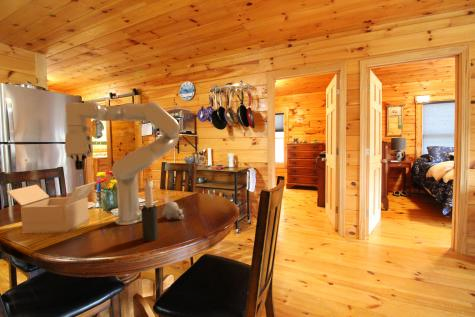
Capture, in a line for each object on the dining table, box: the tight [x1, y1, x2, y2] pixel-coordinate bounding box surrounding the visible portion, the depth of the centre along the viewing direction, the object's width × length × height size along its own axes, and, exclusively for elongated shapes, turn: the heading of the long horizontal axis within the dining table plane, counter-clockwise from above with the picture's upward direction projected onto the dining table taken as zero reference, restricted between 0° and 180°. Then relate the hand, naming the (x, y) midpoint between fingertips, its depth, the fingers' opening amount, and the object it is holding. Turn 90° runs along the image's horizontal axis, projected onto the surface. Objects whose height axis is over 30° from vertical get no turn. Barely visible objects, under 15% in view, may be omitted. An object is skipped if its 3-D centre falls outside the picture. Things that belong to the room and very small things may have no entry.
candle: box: [140, 177, 159, 242], centre depth 93 cm, size 5×5×25 cm
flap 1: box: [6, 184, 50, 207], centre depth 108 cm, size 8×16×1 cm
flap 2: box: [65, 181, 97, 204], centre depth 109 cm, size 8×16×1 cm
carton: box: [20, 196, 90, 234], centre depth 109 cm, size 19×17×12 cm
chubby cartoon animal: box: [161, 200, 185, 220], centre depth 118 cm, size 7×12×8 cm, turn 65°
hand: (80, 169), depth 108 cm, fingers closed
